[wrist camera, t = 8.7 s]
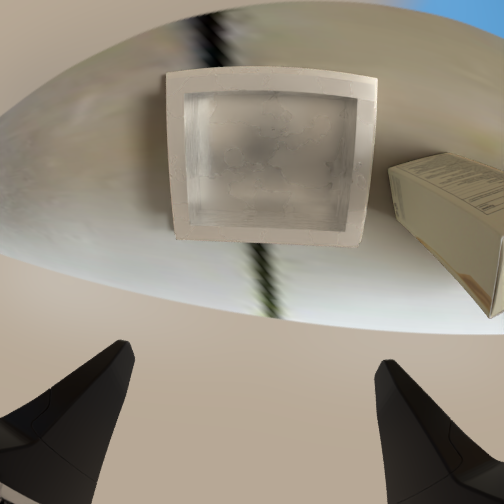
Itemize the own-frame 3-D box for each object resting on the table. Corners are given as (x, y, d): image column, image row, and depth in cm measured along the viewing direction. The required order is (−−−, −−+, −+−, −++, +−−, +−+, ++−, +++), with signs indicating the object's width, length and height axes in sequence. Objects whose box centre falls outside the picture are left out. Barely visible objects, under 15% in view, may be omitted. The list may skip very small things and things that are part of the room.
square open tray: (374, 79, 15) (394, 73, 12) (359, 239, 20) (372, 262, 17) (169, 73, 16) (147, 66, 13) (177, 231, 21) (160, 252, 18)
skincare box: (394, 220, 19) (482, 326, 9) (385, 166, 18) (496, 239, 7) (458, 201, 18) (559, 280, 7) (452, 150, 16) (572, 202, 5)
